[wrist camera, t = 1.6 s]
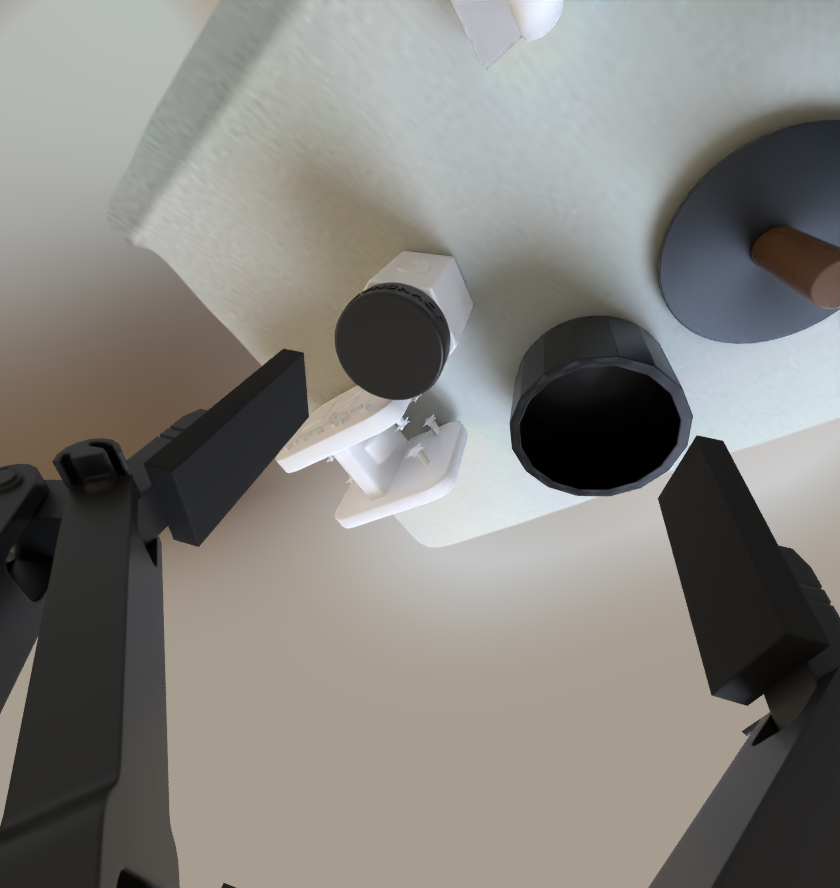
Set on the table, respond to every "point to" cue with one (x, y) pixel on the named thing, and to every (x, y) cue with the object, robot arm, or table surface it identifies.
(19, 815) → the robot arm
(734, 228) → the lid
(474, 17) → the figurine
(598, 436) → the pot
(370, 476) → the cable organizer
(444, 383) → the table surface
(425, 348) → the jar
